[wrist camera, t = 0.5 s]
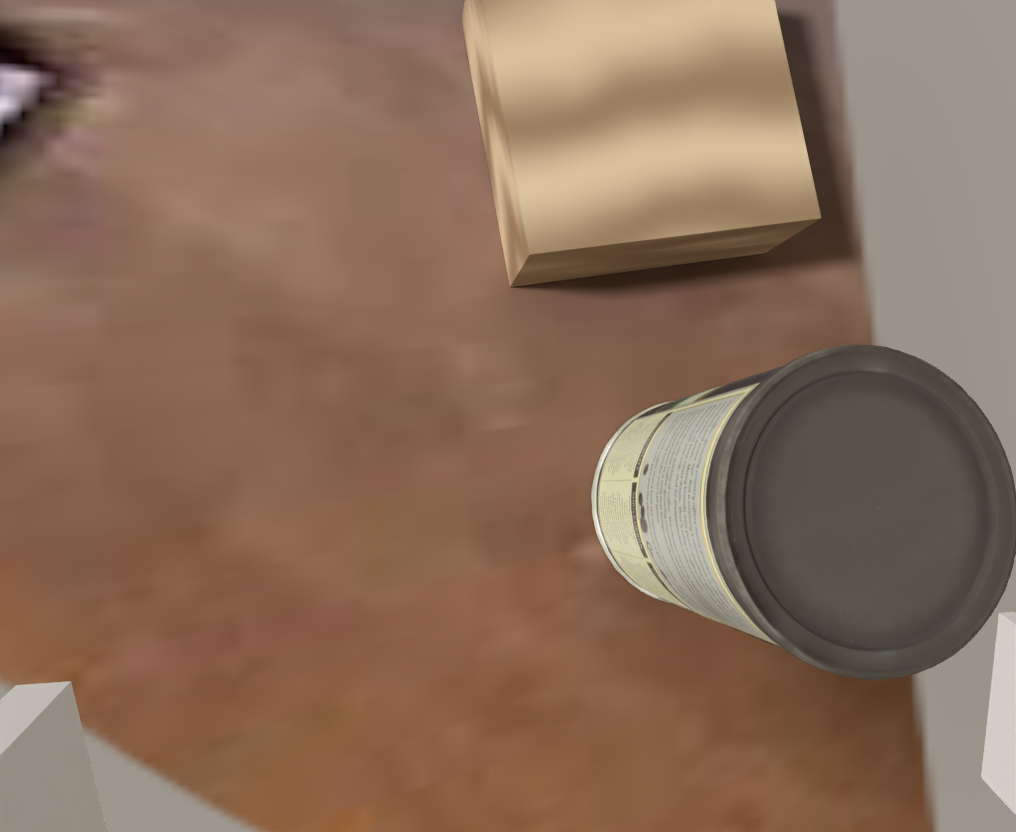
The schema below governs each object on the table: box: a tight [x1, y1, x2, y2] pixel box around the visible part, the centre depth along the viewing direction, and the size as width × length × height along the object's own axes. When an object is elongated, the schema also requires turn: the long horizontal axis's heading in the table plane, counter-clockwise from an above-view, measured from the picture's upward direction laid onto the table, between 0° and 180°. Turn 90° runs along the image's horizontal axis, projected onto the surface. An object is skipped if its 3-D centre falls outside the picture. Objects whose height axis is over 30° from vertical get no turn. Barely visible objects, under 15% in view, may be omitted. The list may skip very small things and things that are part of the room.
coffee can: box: [591, 345, 1016, 679], centre depth 29 cm, size 10×10×14 cm
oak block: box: [462, 0, 821, 287], centre depth 34 cm, size 14×14×5 cm
